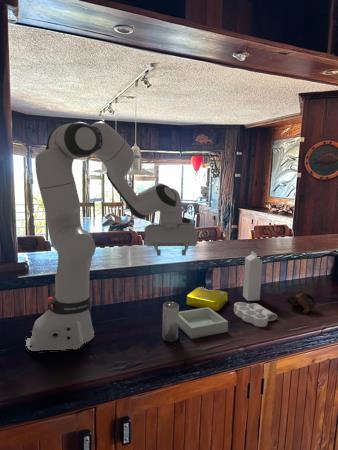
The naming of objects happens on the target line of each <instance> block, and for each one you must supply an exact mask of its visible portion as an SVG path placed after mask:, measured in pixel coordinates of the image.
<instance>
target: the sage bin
mask: <svg viewBox="0 0 338 450" xmlns="http://www.w3.org/2000/svg"><path fill="white" fill-rule="evenodd" d="M178 328H179V329H180V330H181V331H182V332H184V334H186V335H187V337H189V339H191V340H192V339H193V340H194V339H197V338H203V337H208V336H213V335H219V334H223V333H228V330H229V329H228V328H229V321H228V320H227V319H225V318H224V317H222V316H221V315H220V314H219V313H217V312H216V311H213V310H212V309H210V308H209V307H206V308H195V309H189V310H182V311H179V320H178Z"/></svg>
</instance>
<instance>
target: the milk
mask: <svg viewBox="0 0 338 450" xmlns="http://www.w3.org/2000/svg"><path fill="white" fill-rule="evenodd" d="M250 252H251V253H250V254H249V255H247V256H245V258H244V268H243V269H244V271H243V287H242V288H243V289H242V297H243V298H245V300H246V301H248V302H249V301H250V302H251V301H253V302H254V301H260V299H261V288H262V287H261V285H262V275H263V274H262V272H263V260H262V259H260V258H259V257H258V253H256V252H254V251H252V250H251V251H250Z"/></svg>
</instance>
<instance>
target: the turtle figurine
mask: <svg viewBox="0 0 338 450" xmlns="http://www.w3.org/2000/svg"><path fill="white" fill-rule="evenodd" d="M303 297H306V298H307V299H308V300H311V302H312V304H311V303H309V304H308V303H307V302H306V301H305V300H304V299H303ZM285 299H286V303H287V305H288V304H289V305H290V307H291V308H294V305H299V306H302V307H304V309H303V310H302V311H303V313H304V314H307V313H309V312H311V311H313V310H314V309H315V308H316V304H317V300H316V299H315V298H314V296H313V295H312V294H310V293H308V292H301V293H297V294H296V295H292V294H290V295H288V296H286V298H285ZM307 304H308V305H307Z"/></svg>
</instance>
